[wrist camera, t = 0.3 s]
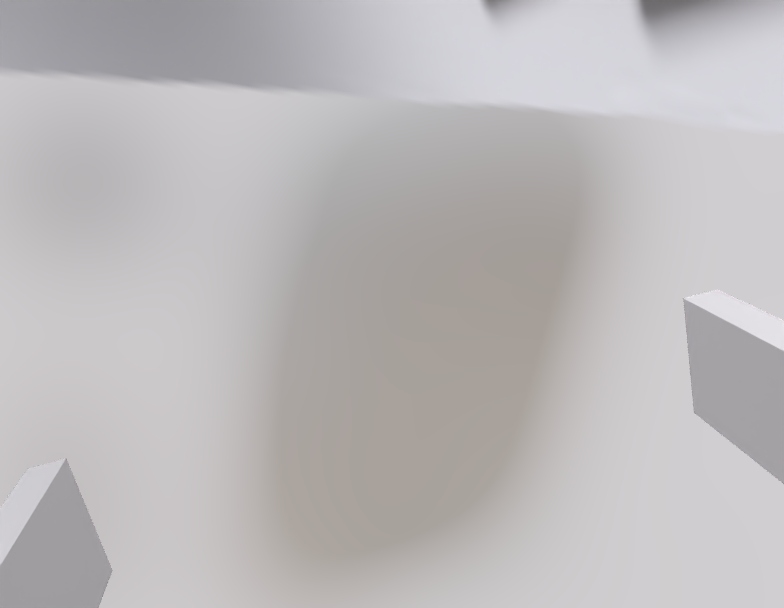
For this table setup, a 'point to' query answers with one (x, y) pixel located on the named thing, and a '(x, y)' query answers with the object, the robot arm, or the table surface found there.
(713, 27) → the table surface
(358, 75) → the table surface
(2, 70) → the table surface
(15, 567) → the robot arm
